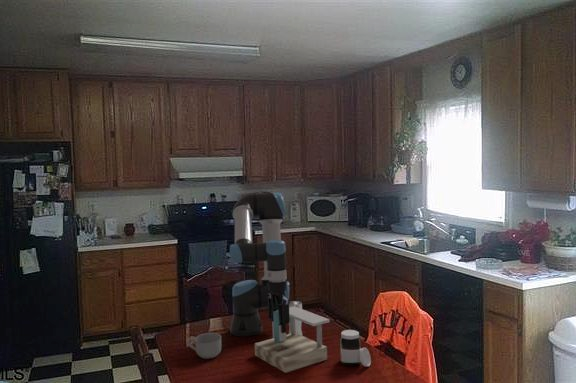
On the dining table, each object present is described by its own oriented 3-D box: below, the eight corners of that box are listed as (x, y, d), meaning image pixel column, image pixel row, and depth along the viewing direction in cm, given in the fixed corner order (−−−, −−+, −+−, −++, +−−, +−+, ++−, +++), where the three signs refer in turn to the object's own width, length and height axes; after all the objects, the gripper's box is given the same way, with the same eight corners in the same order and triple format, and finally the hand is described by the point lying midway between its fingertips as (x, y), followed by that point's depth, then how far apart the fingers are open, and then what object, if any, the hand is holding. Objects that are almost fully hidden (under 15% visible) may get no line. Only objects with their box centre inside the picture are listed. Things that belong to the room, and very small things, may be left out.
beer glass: (301, 338, 220) (300, 305, 219) (286, 338, 221) (285, 305, 221) (304, 333, 227) (303, 301, 226) (289, 332, 228) (288, 300, 227)
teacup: (226, 352, 207) (225, 333, 207) (214, 362, 197) (213, 342, 197) (197, 349, 212) (196, 331, 211) (183, 359, 202) (182, 339, 201)
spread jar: (340, 357, 197) (339, 328, 197) (368, 356, 197) (367, 328, 196) (342, 370, 185) (341, 339, 185) (372, 369, 185) (371, 338, 184)
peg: (272, 341, 197) (271, 311, 196) (280, 338, 199) (279, 309, 198) (278, 344, 193) (276, 313, 193) (286, 341, 196) (285, 311, 195)
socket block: (255, 355, 203) (254, 343, 203) (295, 343, 214) (294, 332, 214) (285, 372, 185) (284, 359, 184) (327, 359, 196) (326, 346, 196)
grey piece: (279, 335, 211) (278, 309, 210) (295, 331, 215) (294, 306, 215) (314, 351, 191) (313, 323, 190) (330, 346, 195) (329, 319, 195)
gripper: (257, 278, 200) (260, 335, 201) (281, 285, 186) (283, 347, 187) (273, 275, 204) (275, 331, 205) (297, 282, 190) (299, 342, 191)
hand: (279, 338), depth 196 cm, fingers closed on peg, 4 cm apart
